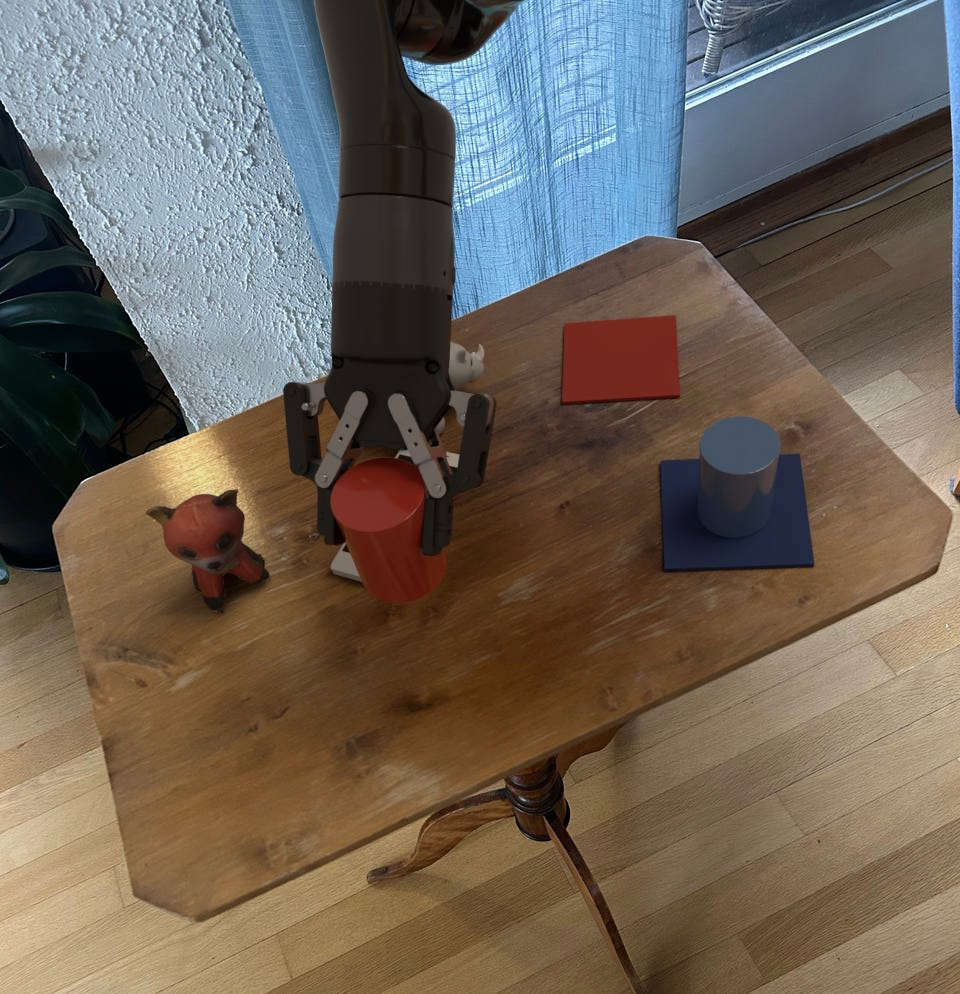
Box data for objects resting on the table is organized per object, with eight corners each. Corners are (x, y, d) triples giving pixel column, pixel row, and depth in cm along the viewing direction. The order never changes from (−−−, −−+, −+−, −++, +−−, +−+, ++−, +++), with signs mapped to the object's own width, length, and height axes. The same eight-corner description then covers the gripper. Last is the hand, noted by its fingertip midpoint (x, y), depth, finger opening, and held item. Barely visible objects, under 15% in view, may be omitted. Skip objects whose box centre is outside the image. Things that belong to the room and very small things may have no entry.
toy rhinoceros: (508, 412, 98) (501, 340, 92) (398, 464, 96) (383, 394, 89) (470, 371, 102) (462, 300, 95) (364, 420, 100) (347, 350, 93)
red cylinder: (450, 530, 73) (428, 454, 67) (443, 602, 70) (420, 529, 63) (366, 534, 74) (337, 459, 68) (355, 605, 71) (323, 533, 64)
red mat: (675, 318, 101) (675, 314, 101) (679, 397, 96) (679, 394, 95) (564, 326, 103) (564, 323, 103) (562, 404, 97) (561, 401, 97)
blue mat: (799, 456, 90) (799, 453, 89) (813, 566, 83) (814, 563, 83) (660, 463, 92) (660, 460, 91) (664, 571, 85) (664, 568, 85)
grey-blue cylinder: (768, 480, 88) (777, 413, 82) (774, 537, 85) (784, 472, 78) (695, 483, 89) (697, 417, 83) (698, 539, 86) (701, 476, 79)
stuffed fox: (263, 510, 96) (217, 418, 86) (289, 599, 90) (243, 512, 80) (186, 537, 95) (131, 448, 85) (207, 629, 89) (150, 545, 79)
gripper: (259, 272, 62) (258, 546, 66) (488, 279, 58) (472, 569, 62) (312, 285, 69) (307, 532, 73) (519, 293, 65) (502, 552, 69)
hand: (383, 548), depth 68 cm, fingers closed on red cylinder, 6 cm apart
